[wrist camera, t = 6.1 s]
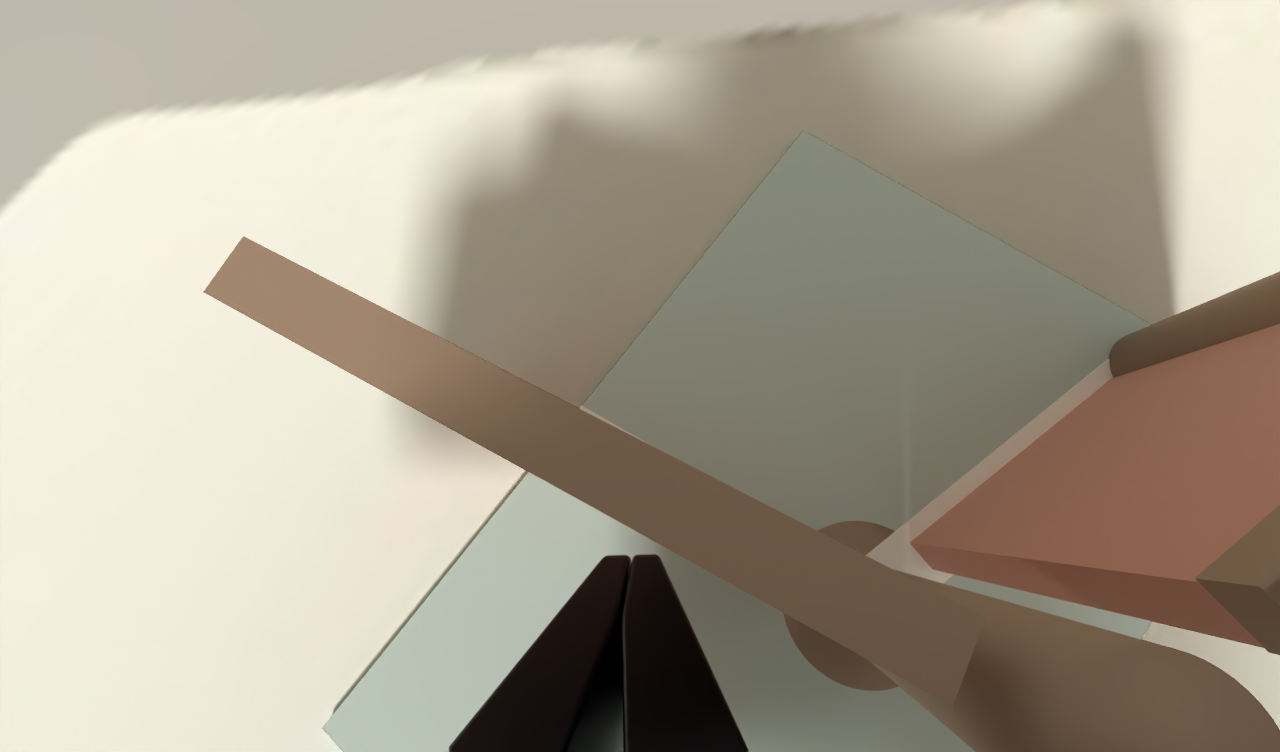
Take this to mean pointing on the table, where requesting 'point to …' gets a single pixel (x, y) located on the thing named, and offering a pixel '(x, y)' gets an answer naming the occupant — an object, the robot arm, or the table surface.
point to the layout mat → (782, 450)
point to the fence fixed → (1133, 490)
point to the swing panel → (782, 549)
